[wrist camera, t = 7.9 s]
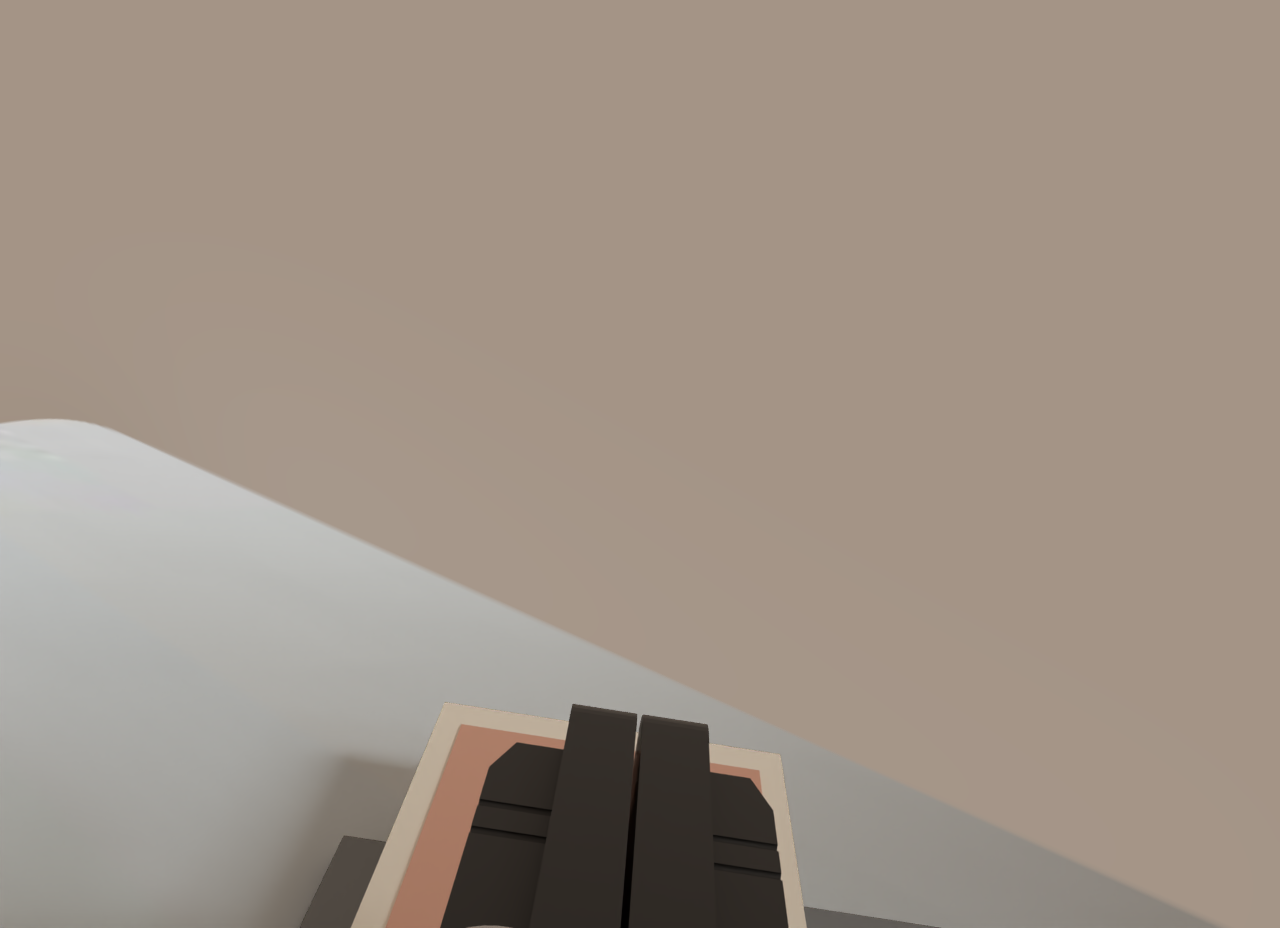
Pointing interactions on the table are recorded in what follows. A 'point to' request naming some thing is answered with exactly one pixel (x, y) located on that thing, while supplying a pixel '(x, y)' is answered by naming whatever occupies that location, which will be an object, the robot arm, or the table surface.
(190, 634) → the table surface
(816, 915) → the charcoal mat
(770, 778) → the cream box
